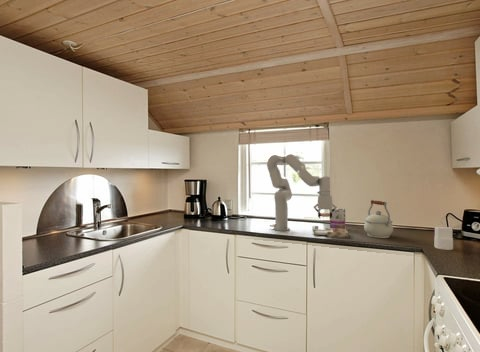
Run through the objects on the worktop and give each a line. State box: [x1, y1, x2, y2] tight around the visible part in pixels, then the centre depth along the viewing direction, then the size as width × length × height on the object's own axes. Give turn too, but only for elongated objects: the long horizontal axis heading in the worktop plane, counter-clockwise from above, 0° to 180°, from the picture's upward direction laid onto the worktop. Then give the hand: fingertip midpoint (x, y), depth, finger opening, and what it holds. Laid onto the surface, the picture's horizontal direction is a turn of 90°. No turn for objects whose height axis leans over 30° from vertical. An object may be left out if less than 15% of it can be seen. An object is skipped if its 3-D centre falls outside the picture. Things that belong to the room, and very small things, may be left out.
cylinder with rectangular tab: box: [433, 226, 454, 251], centre depth 166 cm, size 9×9×12 cm
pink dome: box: [320, 212, 330, 218], centre depth 201 cm, size 7×7×2 cm
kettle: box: [363, 199, 394, 239], centre depth 199 cm, size 25×18×25 cm
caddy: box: [325, 227, 350, 239], centre depth 200 cm, size 14×14×4 cm
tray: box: [312, 225, 333, 236], centre depth 202 cm, size 14×14×4 cm
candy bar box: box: [329, 207, 346, 229], centre depth 224 cm, size 11×5×16 cm, turn 62°
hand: (325, 217), depth 201 cm, fingers closed on pink dome, 7 cm apart
